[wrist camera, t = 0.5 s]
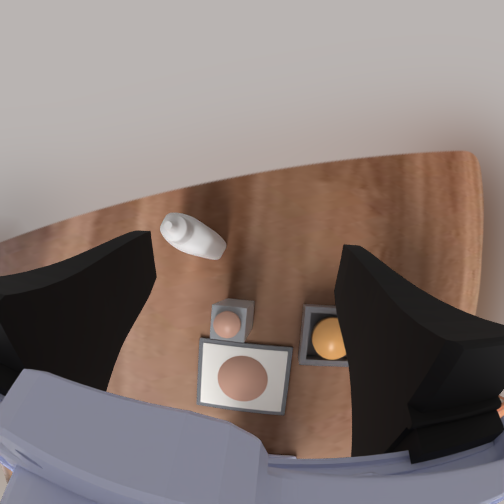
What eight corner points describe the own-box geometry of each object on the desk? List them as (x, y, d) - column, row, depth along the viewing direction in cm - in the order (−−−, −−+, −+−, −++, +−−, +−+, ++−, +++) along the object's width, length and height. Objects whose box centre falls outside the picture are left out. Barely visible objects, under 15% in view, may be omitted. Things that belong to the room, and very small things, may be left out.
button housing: (351, 359, 33) (356, 366, 30) (297, 357, 34) (299, 364, 31) (357, 306, 33) (364, 309, 30) (303, 303, 34) (305, 306, 31)
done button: (347, 355, 31) (351, 360, 29) (309, 353, 32) (310, 358, 30) (352, 317, 31) (356, 320, 29) (313, 315, 32) (315, 317, 30)
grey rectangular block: (252, 327, 34) (243, 344, 26) (225, 324, 35) (207, 340, 26) (254, 300, 35) (245, 309, 26) (227, 298, 35) (210, 305, 26)
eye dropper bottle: (201, 271, 36) (163, 268, 24) (178, 232, 36) (133, 213, 24) (231, 251, 35) (207, 239, 23) (207, 212, 36) (174, 183, 24)
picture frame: (284, 414, 33) (284, 415, 33) (197, 403, 34) (196, 404, 34) (292, 347, 34) (292, 348, 33) (200, 337, 35) (199, 338, 34)
